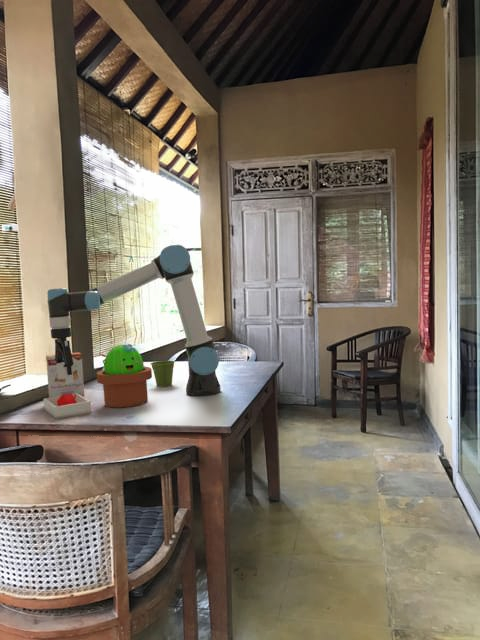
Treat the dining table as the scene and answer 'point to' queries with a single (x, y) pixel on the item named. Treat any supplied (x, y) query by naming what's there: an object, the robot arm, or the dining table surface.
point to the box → (67, 407)
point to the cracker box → (59, 385)
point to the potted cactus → (124, 377)
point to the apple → (66, 399)
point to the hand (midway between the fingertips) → (65, 381)
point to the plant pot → (163, 372)
